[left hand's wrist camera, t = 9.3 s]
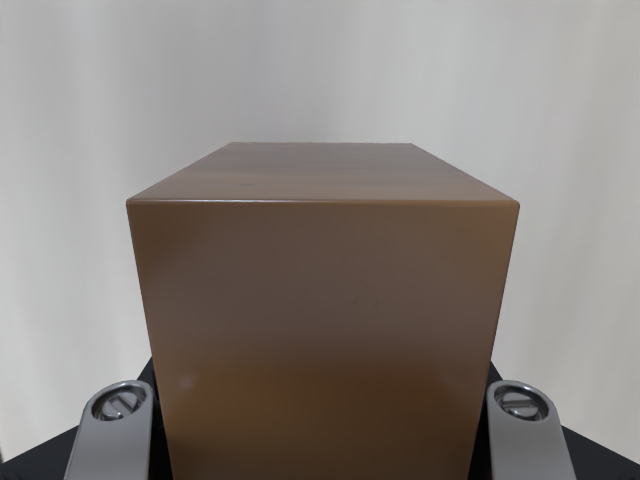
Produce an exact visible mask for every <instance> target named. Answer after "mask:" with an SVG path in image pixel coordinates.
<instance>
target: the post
mask: <svg viewBox="0 0 640 480" xmlns="http://www.w3.org/2000/svg"><path fill="white" fill-rule="evenodd" d="M126 208H127V214H128V220H129V225H130V231H131V237H132V243H133V249H134V254H135V260H136V266H137V272H138V277H139V283H140V289H141V295H142V301H143V306H144V312H145V318H146V324H147V330H148V335H149V341H150V347H151V353H152V358H153V364H154V370H155V376H156V382H157V387H158V393H159V399H160V405H161V410H162V416H163V422H164V428H165V434H166V439H167V445H168V451H169V457H170V462H171V468H172V474H173V480H468V477H469V472H470V466H471V461H472V456H473V451H474V445H475V440H476V435H477V430H478V424H479V419H480V414H481V409H482V403H483V398H484V393H485V388H486V382H487V377H488V372H489V366H490V361H491V356H492V351H493V345H494V340H495V335H496V330H497V324H498V319H499V314H500V309H501V303H502V298H503V293H504V288H505V282H506V277H507V272H508V267H509V261H510V256H511V251H512V246H513V240H514V235H515V230H516V225H517V219H518V214H519V209H520V204H519V202H518V201H516V200H514V199H513V198H511V197H509V196H507V195H505V194H503V193H502V192H500V191H498V190H496V189H494V188H492V187H491V186H489V185H487V184H485V183H483V182H481V181H480V180H478V179H476V178H474V177H472V176H470V175H469V174H467V173H465V172H463V171H461V170H459V169H458V168H456V167H454V166H452V165H450V164H448V163H447V162H445V161H443V160H441V159H439V158H437V157H436V156H434V155H432V154H430V153H428V152H426V151H425V150H423V149H421V148H419V147H417V146H415V145H414V144H412V143H268V142H231V143H229V144H228V145H226V146H224V147H222V148H220V149H218V150H217V151H215V152H213V153H211V154H209V155H207V156H206V157H204V158H202V159H200V160H198V161H197V162H195V163H193V164H191V165H189V166H187V167H186V168H184V169H182V170H180V171H178V172H176V173H175V174H173V175H171V176H169V177H167V178H166V179H164V180H162V181H160V182H158V183H156V184H155V185H153V186H151V187H149V188H147V189H145V190H144V191H142V192H140V193H138V194H136V195H135V196H133V197H131V198H129V199H127V201H126Z"/></svg>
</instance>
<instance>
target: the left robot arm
mask: <svg viewBox="0 0 640 480" xmlns="http://www.w3.org/2000/svg"><path fill="white" fill-rule="evenodd" d="M0 480H173V474H172V468H171V462H170V457H169V451H168V445H167V439H166V434H165V428H164V422H163V416H162V410H161V405H160V399H159V393H158V387H157V382H156V376H155V370H154V364H153V358H152V357H151V358H150V360H149V361H148V363H147V364H146V366H145V368H144V369H143V371H142V372H141V374H140V376H139V377H138V379H137V380H128V381H122V382H118V383H115V384H112V385H110V386H108V387H106V388H104V389H102V390H101V391H99V392H98V393H96V394H95V395H94V396H93V397H92V398H91V399H90V400H89V401H88V402H87V404H86V406H85V408H84V410H83V413H82V417H81V420H80V424H79V425H78V426H76V427H74V428H72V429H70V430H68V431H66V432H64V433H62V434H60V435H58V436H56V437H54V438H52V439H50V440H48V441H46V442H44V443H42V444H40V445H38V446H36V447H34V448H32V449H30V450H28V451H26V452H24V453H22V454H20V455H18V456H16V457H14V458H12V459H11V460H9V461H7V462H5V463H3V464H1V465H0ZM468 480H640V465H639V464H637V463H635V462H633V461H631V460H629V459H627V458H625V457H623V456H621V455H619V454H617V453H615V452H613V451H611V450H609V449H608V448H606V447H604V446H602V445H600V444H598V443H596V442H594V441H592V440H590V439H588V438H586V437H584V436H582V435H580V434H578V433H576V432H574V431H572V430H570V429H568V428H566V427H564V426H562V425H561V424H560V420H559V417H558V413H557V410H556V408H555V406H554V404H553V402H552V401H551V400H550V399H549V398H548V397H547V396H546V395H545V394H544V393H542V392H541V391H539V390H538V389H536V388H534V387H532V386H530V385H528V384H525V383H522V382H518V381H512V380H503V379H502V378H501V376H500V374H499V373H498V371H497V370H496V368H495V367H494V365H493V363H492V362H491V361H490V366H489V372H488V377H487V382H486V388H485V393H484V398H483V403H482V409H481V414H480V419H479V424H478V430H477V435H476V440H475V445H474V451H473V456H472V461H471V466H470V472H469V477H468Z"/></svg>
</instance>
